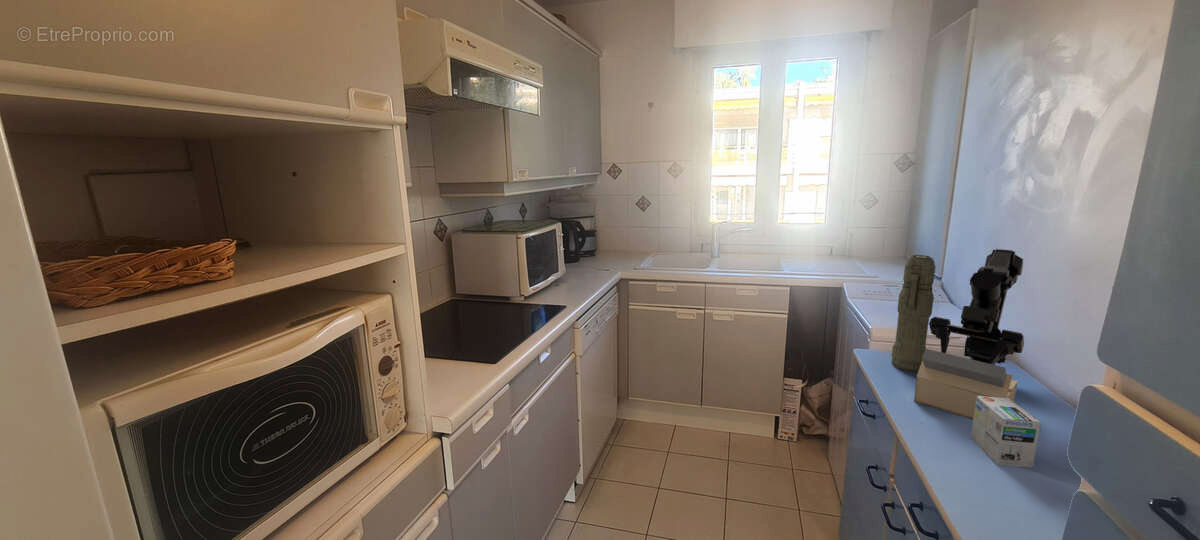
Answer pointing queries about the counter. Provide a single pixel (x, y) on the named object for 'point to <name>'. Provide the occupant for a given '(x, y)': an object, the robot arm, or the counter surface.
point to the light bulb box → (1005, 431)
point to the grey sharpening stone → (965, 374)
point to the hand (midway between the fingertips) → (964, 362)
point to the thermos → (914, 313)
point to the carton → (951, 397)
